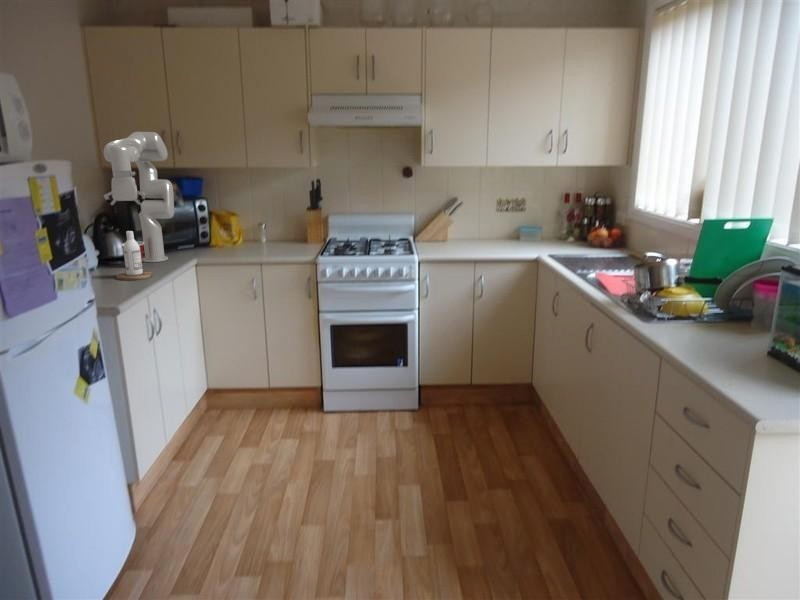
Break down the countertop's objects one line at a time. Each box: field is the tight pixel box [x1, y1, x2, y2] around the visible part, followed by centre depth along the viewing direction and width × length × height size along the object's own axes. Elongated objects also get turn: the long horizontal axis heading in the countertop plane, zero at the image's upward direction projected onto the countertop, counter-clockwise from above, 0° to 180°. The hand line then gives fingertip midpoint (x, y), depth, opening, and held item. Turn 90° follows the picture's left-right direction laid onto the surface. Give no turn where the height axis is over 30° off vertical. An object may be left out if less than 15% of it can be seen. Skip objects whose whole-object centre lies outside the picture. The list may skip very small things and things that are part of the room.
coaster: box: [116, 270, 153, 282], centre depth 256 cm, size 15×15×1 cm
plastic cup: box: [120, 240, 144, 262], centre depth 276 cm, size 11×11×12 cm
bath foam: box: [122, 230, 144, 275], centre depth 253 cm, size 7×7×20 cm
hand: (127, 213), depth 248 cm, fingers open, 9 cm apart
